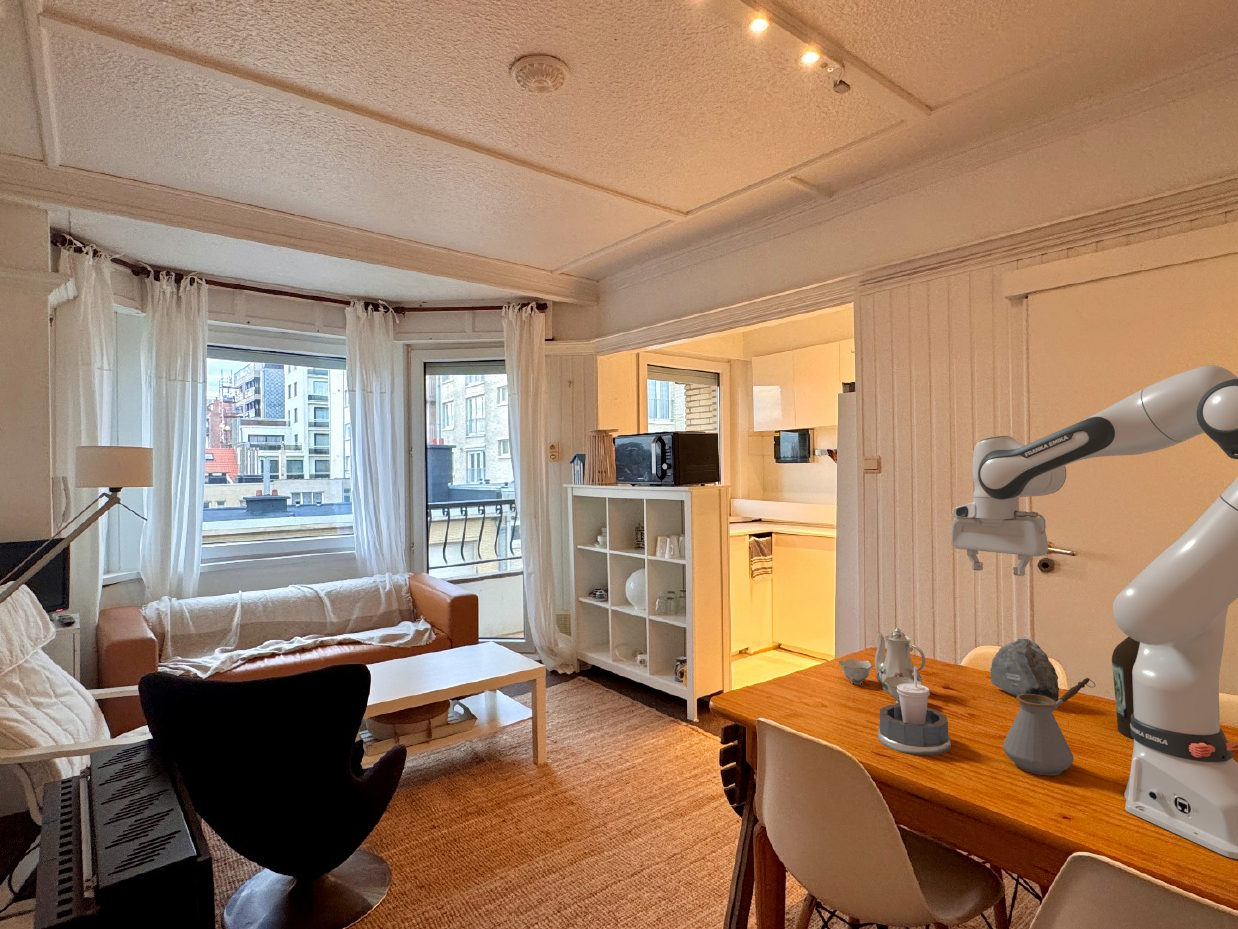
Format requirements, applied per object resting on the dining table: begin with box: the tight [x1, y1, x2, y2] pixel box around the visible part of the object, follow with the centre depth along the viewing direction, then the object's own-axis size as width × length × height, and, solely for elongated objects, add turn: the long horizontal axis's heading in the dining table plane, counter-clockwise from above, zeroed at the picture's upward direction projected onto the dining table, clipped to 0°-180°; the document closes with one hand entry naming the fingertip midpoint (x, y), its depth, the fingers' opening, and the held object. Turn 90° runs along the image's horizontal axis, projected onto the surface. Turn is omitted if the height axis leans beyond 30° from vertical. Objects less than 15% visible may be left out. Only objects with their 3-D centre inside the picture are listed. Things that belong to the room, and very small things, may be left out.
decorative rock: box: [989, 638, 1060, 702], centre depth 163 cm, size 16×7×15 cm, turn 14°
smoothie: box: [897, 666, 931, 724], centre depth 139 cm, size 6×6×14 cm
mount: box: [877, 703, 952, 757], centre depth 139 cm, size 14×14×6 cm
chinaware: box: [838, 627, 926, 704], centre depth 171 cm, size 28×17×17 cm, turn 25°
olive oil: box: [1111, 636, 1140, 740], centre depth 140 cm, size 11×11×25 cm
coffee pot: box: [1002, 677, 1096, 776], centre depth 128 cm, size 21×12×15 cm, turn 111°
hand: (997, 572), depth 145 cm, fingers open, 8 cm apart
